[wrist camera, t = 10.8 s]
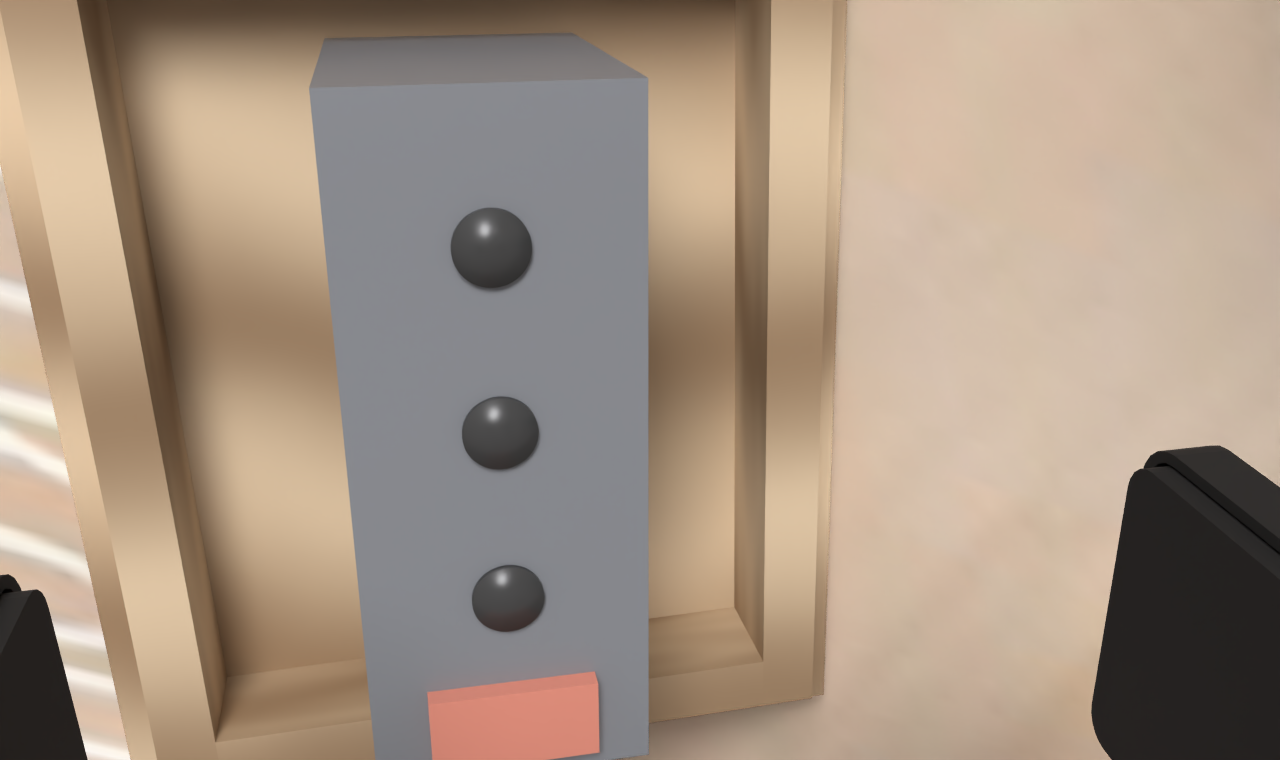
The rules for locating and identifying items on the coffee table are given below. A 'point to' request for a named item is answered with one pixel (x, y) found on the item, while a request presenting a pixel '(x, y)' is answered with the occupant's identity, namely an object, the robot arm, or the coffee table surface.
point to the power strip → (492, 386)
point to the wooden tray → (305, 353)
